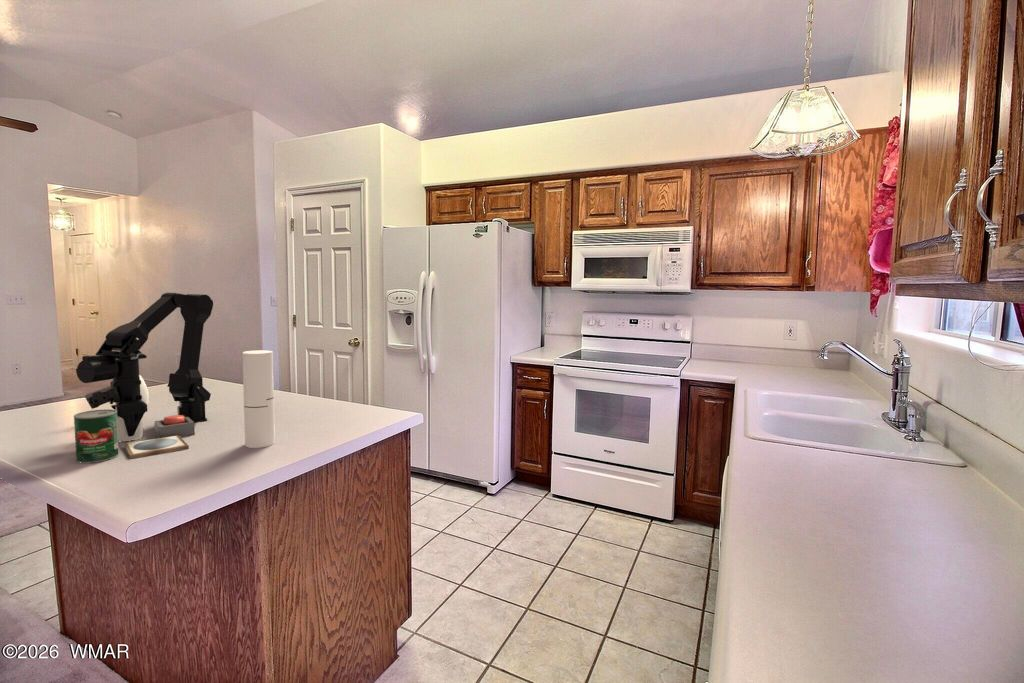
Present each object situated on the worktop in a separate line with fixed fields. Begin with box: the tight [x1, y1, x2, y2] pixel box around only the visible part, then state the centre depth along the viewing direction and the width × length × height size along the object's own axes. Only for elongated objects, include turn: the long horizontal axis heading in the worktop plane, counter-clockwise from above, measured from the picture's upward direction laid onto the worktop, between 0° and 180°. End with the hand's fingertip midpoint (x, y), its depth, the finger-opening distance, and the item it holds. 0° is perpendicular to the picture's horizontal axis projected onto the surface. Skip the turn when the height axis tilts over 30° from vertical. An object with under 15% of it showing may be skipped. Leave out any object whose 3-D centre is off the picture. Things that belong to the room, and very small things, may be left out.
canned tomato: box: [73, 408, 120, 464], centre depth 117 cm, size 8×8×11 cm
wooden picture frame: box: [122, 435, 190, 459], centre depth 126 cm, size 12×12×1 cm
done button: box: [163, 414, 185, 426], centre depth 137 cm, size 5×5×2 cm
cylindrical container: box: [242, 349, 276, 449], centre depth 130 cm, size 7×7×25 cm
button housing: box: [153, 417, 196, 438], centre depth 138 cm, size 8×8×4 cm
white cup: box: [117, 414, 145, 442], centre depth 132 cm, size 7×7×7 cm
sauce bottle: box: [139, 374, 150, 407], centre depth 152 cm, size 8×8×18 cm
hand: (129, 433), depth 132 cm, fingers closed on white cup, 6 cm apart
